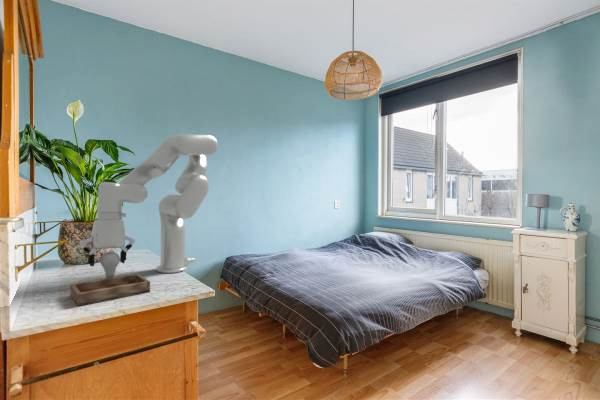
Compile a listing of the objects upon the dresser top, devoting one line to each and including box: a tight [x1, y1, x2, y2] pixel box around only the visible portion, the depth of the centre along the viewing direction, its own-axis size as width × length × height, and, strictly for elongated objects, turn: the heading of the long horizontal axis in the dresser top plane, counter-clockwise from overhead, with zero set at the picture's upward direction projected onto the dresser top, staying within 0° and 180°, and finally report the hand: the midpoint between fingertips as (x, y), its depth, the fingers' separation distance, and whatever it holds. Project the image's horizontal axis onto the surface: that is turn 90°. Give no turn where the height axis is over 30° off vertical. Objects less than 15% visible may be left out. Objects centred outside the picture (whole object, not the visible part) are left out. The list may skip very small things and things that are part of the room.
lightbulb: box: [99, 251, 120, 279], centre depth 114 cm, size 6×6×11 cm
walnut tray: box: [69, 273, 151, 307], centre depth 102 cm, size 20×12×4 cm, turn 134°
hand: (107, 263), depth 114 cm, fingers open, 9 cm apart
